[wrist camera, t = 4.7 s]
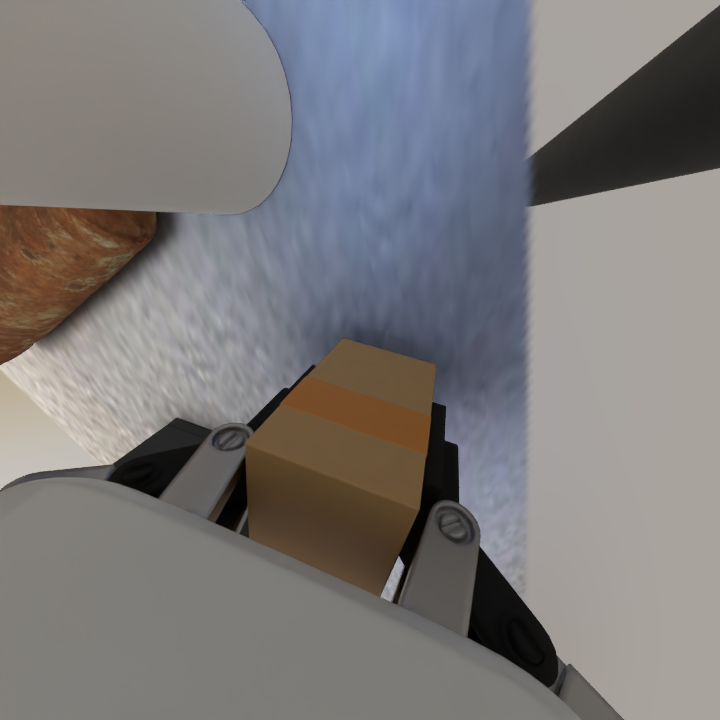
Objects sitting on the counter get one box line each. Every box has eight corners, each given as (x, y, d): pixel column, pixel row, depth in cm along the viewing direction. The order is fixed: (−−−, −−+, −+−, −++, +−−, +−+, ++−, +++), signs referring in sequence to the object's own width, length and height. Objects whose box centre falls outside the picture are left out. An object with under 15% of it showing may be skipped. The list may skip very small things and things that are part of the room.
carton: (342, 336, 12) (242, 442, 6) (437, 364, 11) (421, 509, 6) (328, 425, 14) (248, 558, 9) (405, 452, 14) (373, 615, 8)
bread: (-25, 275, 20) (-176, 292, 15) (135, 133, 13) (-56, 76, 8) (38, 354, 22) (-77, 391, 17) (208, 270, 15) (91, 292, 10)
